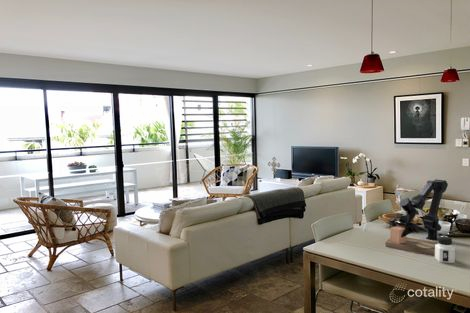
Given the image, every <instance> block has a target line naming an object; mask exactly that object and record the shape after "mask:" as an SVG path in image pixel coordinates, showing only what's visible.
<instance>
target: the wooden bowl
mask: <svg viewBox="0 0 470 313" xmlns="http://www.w3.org/2000/svg"><path fill="white" fill-rule="evenodd" d="M396 213H397V212H389V213H383V214H382V216H381V215H380V216H378V219H379V220H381V221H383V222H385V224H387V225H389V226H391V227H393V226H392V225H391V223H390V222H389V221H388V220H389V219H390V218H394V219H396V220H397V221H398V222H400V221H399V220H398V218H395V216H396ZM400 213H401V214H405V213H404V212H403V213H402V212H400ZM413 220H414V221H413V222H411V223H414V224H416V225H417V224H418V223H421V222H423V218H421V217H418V216H417V215H415V217H414V219H413ZM399 227H402V228H405V226H401V225H399Z"/></svg>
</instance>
